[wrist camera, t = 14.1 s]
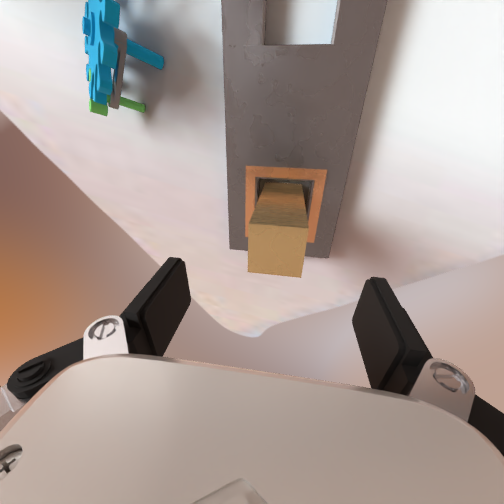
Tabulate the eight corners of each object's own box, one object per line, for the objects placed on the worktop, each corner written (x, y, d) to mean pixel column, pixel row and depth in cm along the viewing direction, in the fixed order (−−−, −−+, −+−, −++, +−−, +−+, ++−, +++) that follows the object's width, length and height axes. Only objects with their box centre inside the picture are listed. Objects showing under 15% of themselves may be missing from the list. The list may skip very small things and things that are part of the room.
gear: (77, -84, 16) (97, -59, 12) (160, -23, 20) (198, 12, 16) (75, 81, 23) (87, 135, 19) (138, 103, 27) (160, 152, 23)
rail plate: (224, -114, 16) (215, -146, 14) (409, -133, 14) (426, -171, 12) (233, 241, 30) (229, 249, 28) (326, 250, 29) (328, 259, 27)
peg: (265, 181, 25) (248, 223, 15) (301, 183, 25) (308, 228, 15) (264, 215, 28) (247, 272, 17) (297, 217, 27) (300, 277, 17)
